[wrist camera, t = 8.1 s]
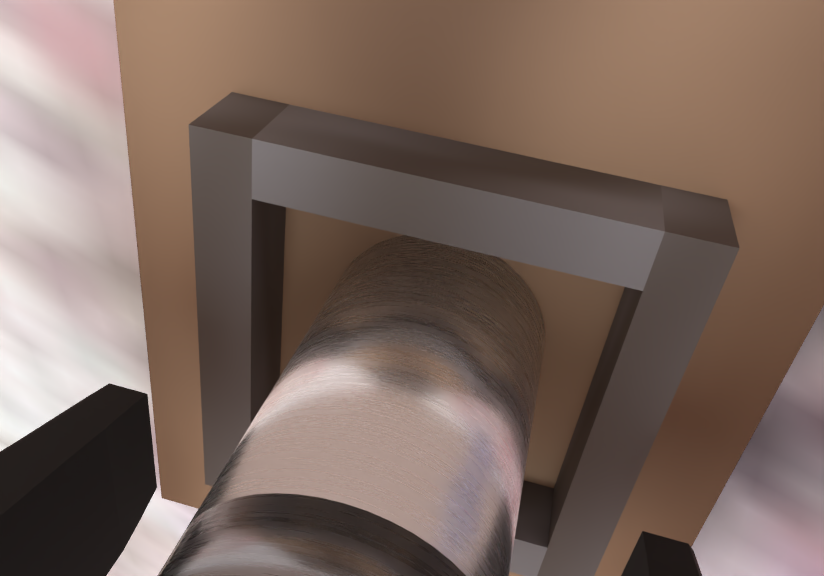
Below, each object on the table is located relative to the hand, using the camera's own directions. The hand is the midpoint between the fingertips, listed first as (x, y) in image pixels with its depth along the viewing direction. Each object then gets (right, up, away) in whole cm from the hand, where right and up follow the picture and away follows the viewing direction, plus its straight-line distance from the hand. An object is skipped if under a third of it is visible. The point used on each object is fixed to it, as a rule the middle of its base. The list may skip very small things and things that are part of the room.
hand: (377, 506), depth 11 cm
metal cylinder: (+1, +2, +3) cm, 4 cm away
